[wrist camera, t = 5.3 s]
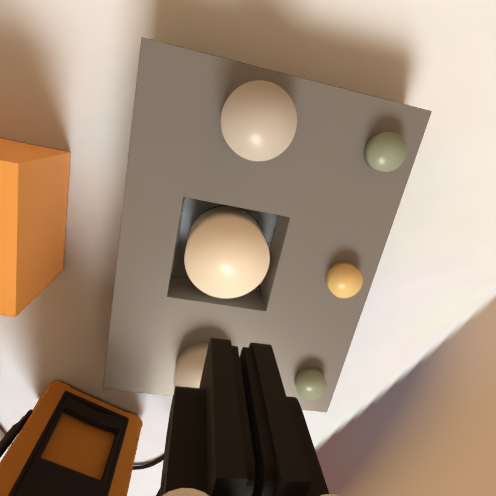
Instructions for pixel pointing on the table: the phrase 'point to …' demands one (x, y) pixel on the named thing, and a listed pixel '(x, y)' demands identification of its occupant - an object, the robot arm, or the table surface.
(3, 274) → the orange block
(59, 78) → the table surface
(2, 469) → the multimeter
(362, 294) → the grey flat block
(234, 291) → the button
